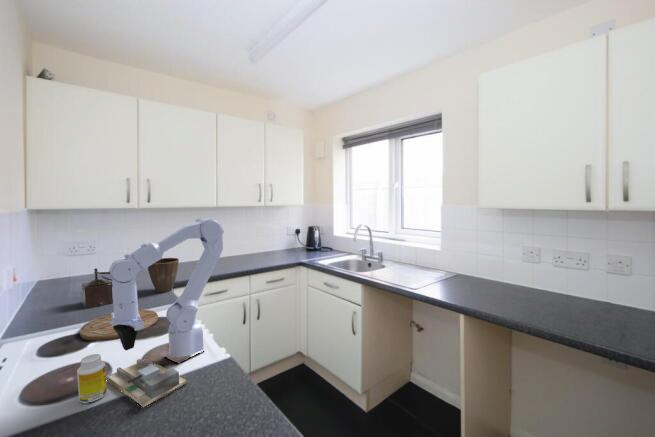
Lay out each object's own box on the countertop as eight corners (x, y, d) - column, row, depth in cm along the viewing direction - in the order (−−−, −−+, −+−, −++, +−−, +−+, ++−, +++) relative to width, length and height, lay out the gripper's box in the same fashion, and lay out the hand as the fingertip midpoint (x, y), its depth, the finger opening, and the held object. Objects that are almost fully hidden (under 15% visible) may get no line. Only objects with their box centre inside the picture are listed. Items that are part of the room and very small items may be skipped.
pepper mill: (86, 309, 137) (83, 269, 135) (82, 303, 144) (79, 265, 143) (126, 300, 148) (124, 263, 146) (121, 295, 155) (119, 260, 154)
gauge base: (148, 362, 93) (147, 348, 93) (186, 384, 82) (185, 368, 82) (106, 380, 84) (105, 365, 84) (143, 408, 73) (142, 390, 73)
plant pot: (145, 290, 164) (143, 260, 162) (175, 284, 174) (173, 256, 172) (152, 297, 153) (150, 265, 151) (183, 290, 163) (182, 260, 161)
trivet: (172, 317, 128) (172, 312, 128) (116, 345, 104) (116, 340, 104) (125, 311, 135) (124, 307, 135) (62, 337, 111) (62, 331, 111)
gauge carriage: (152, 374, 85) (151, 364, 84) (159, 379, 82) (159, 368, 82) (124, 387, 79) (124, 376, 79) (132, 393, 77) (131, 381, 76)
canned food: (103, 297, 167) (102, 279, 170) (125, 292, 171) (124, 275, 174) (97, 293, 157) (96, 274, 161) (120, 288, 162) (118, 270, 165)
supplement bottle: (109, 396, 77) (107, 357, 77) (81, 408, 73) (78, 366, 72) (103, 387, 81) (101, 349, 80) (77, 397, 77) (74, 358, 76)
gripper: (97, 301, 87) (101, 347, 88) (121, 311, 79) (125, 362, 80) (125, 294, 93) (128, 337, 94) (150, 303, 85) (153, 350, 86)
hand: (128, 348), depth 87 cm, fingers closed
